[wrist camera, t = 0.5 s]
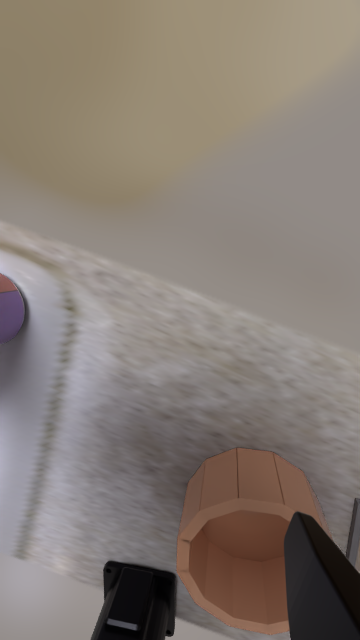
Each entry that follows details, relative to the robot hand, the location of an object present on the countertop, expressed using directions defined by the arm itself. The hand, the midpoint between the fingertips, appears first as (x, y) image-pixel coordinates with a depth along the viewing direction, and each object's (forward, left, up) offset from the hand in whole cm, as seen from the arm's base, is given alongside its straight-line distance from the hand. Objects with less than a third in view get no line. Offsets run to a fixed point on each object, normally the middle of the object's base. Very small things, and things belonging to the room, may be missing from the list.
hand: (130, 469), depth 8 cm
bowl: (-13, -5, -14) cm, 20 cm away
